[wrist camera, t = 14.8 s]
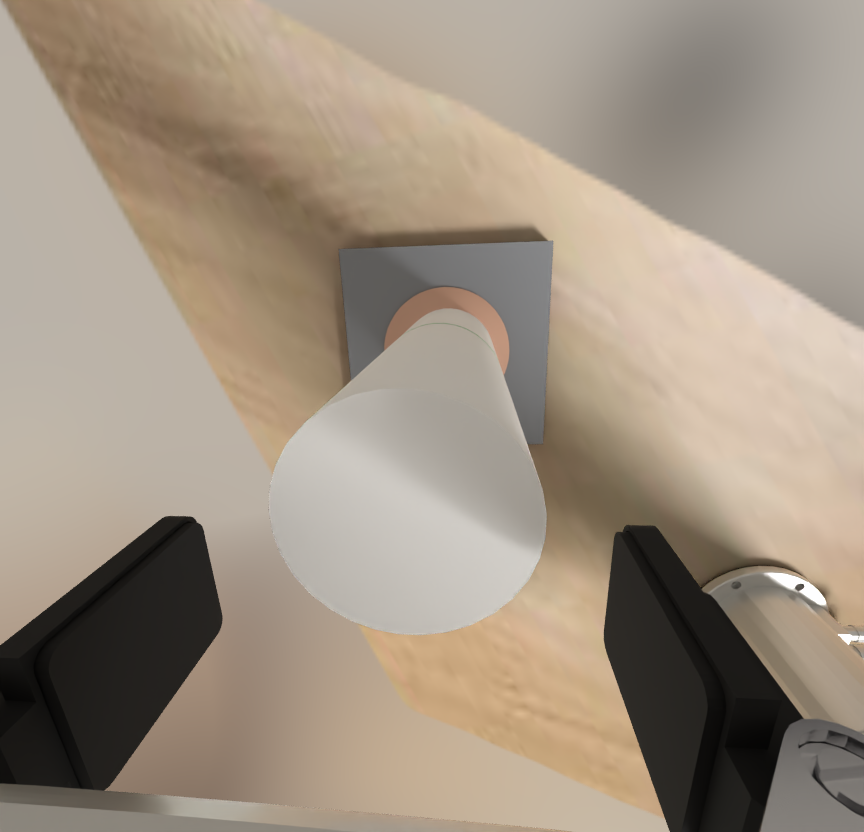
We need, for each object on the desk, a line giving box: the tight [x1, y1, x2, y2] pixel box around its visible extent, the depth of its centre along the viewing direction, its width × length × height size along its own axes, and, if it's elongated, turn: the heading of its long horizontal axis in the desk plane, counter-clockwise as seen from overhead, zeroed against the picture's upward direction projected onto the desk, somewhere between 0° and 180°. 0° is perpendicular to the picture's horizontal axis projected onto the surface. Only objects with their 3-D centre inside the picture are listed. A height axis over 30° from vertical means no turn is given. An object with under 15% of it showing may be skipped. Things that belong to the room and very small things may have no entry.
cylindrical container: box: [269, 308, 547, 635], centre depth 23 cm, size 7×7×25 cm
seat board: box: [339, 241, 553, 444], centre depth 36 cm, size 16×16×2 cm
